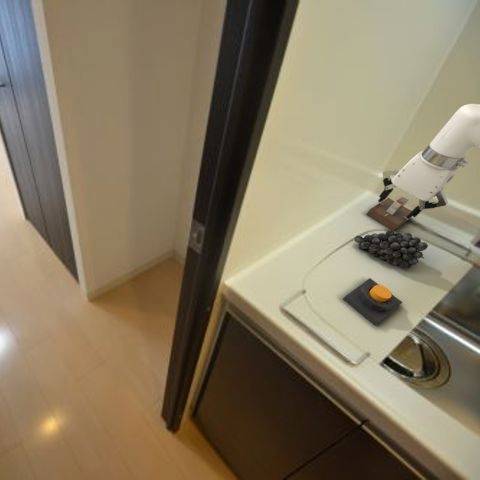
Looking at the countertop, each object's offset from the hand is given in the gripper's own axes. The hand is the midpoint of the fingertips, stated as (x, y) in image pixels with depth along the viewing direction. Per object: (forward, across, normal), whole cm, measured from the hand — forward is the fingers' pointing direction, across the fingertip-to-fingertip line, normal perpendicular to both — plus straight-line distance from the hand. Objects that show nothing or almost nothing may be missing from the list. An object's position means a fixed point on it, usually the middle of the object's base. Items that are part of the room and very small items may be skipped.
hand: (395, 208), depth 94 cm
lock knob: (+1, 0, 0) cm, 1 cm away
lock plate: (+4, 0, 0) cm, 4 cm away
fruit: (+4, -7, +16) cm, 18 cm away
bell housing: (+4, -14, +34) cm, 37 cm away
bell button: (0, -14, +34) cm, 36 cm away
